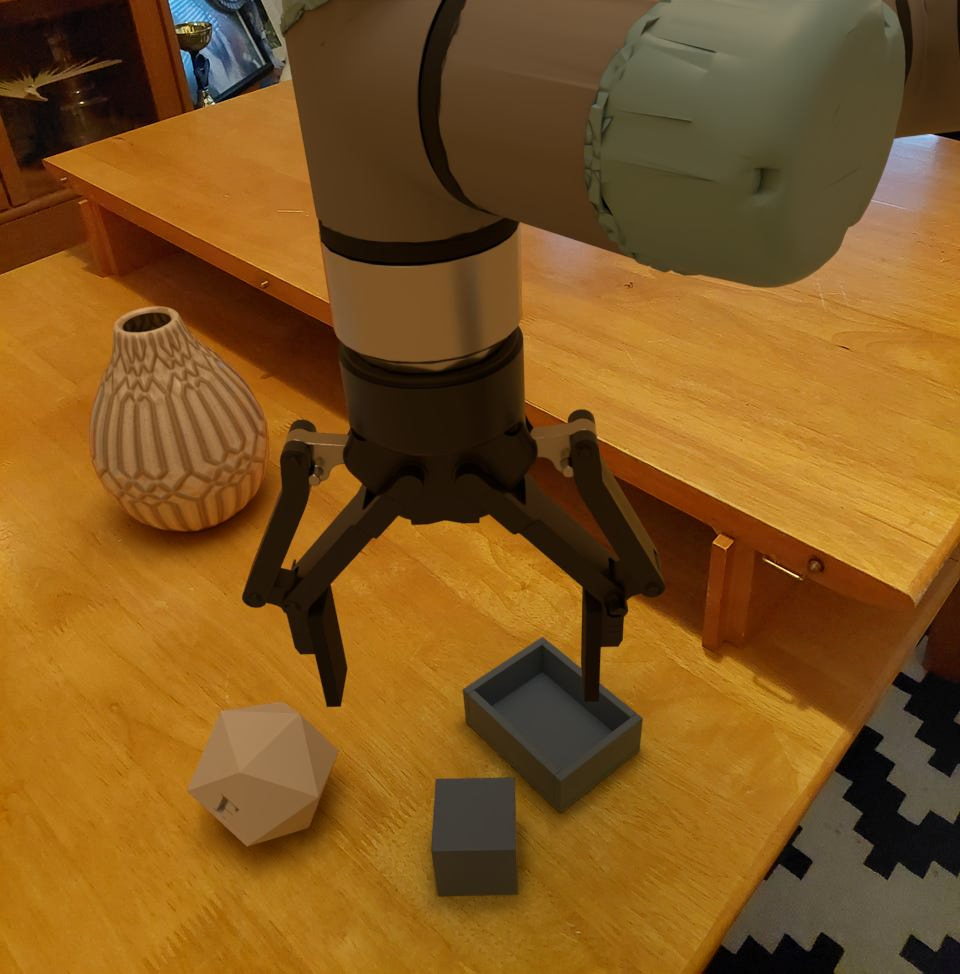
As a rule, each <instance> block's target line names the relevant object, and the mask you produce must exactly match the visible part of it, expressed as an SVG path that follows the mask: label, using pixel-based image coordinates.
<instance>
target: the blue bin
mask: <svg viewBox="0 0 960 974" xmlns="http://www.w3.org/2000/svg"><path fill="white" fill-rule="evenodd" d="M462 696H463V710H464V719H465V722H466V724H468V725H469V727H470V728H472V729H473V730H474V731H475V732H476V734H478V735H479V736H480V737H481V738H482V739H483V740H484V741H485V742H486V743H487V744H488V745H489V746H490V747H491V748H492V749H493V750H494V751H495V752H496V753H497V754H499V756H500V757H502V758H503V760H505V761H506V762H507V763H508V765H510V766H511V767H512V768H513V769H514V770H515V771H516V772H517V773H518V774H519V775H520V776H521V777H522V778H523V779H524V780H525V781H526V782H527V783H528V784H529V785H530V786H531V787H532V788H533V789H534V790H535V791H536V792H537V793H538V794H539V795H540V796H541V797H542V798H543V799H544V800H545V801H547V802H548V803H549V804H550V806H552V807H553V808H554V809H555V810H556V812H558V813H559V814H562V813H563V812H564V811H566V810H567V809H568V808H570V807H571V806H572V805H573V804H574V803H576V802H577V801H578V800H580V799H581V798H582V797H584V795H586V794H587V793H589V792H590V791H591V790H592V789H594V788H595V787H596V786H597V785H599V784H600V783H601V782H603V780H605V779H606V778H607V777H609V776H610V775H611V774H612V773H614V772H615V771H617V770H618V769H619V768H620V767H621V766H623V765H624V764H625V763H626V762H627V761H630V759H631V758H633V757H634V756H635V755H637V754H638V753H639V752H640V751H641V743H642V742H641V741H642V730H643V720H644V719H643V717H642V716H641V715H640V714H639V713H637V712H636V711H635V710H634V709H632V708H631V707H630V706H629V705H627V704H626V703H625V702H624V701H623V700H622V699H620V698H619V697H618V696H616V695H615V694H614V693H613V692H612V691H610V690H609V689H608V688H606V687H605V686H604V685H603V684H602V683H600V684H599V702H584V692H583V681H582V670H581V666H579V665H578V664H577V663H576V662H574V661H573V660H572V659H571V658H570V657H568V655H566V654H565V653H563V652H562V651H561V650H560V649H559V648H557V647H556V646H555V645H553V644H552V643H551V642H550V641H549V640H547V639H546V638H545V637H544V636H541V637H539V638H537V640H535V641H533V642H532V643H530V644H529V645H527V646H526V647H525V648H523V649H522V650H520V651H518V652H517V653H515V654H514V655H511V657H509V658H508V659H506V660H505V661H503V662H502V663H500V664H498V665H497V666H495V667H494V668H492V669H490V671H488V672H486V673H485V674H483V675H482V676H480V677H479V678H477V679H476V680H474V681H473V682H472V683H470V684H468V685H467V686H465V687H463V688H462Z"/></svg>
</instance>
